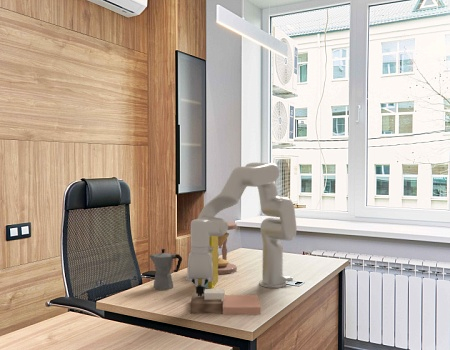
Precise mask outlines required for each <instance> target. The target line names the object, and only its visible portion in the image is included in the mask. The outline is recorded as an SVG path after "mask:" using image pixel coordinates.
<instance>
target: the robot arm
mask: <svg viewBox="0 0 450 350" xmlns="http://www.w3.org/2000/svg"><path fill="white" fill-rule="evenodd" d="M279 176H280V169H279V166H278V165H277V164H276V163H273V162H249V163H247V164H246V165H244V166H237V167H235V168H233V170H232V171H231V173H230V175H229V177H228V178H227V181H226V182H225V184H224V186H223V188H222V189H221V192H220V193H219V194H217V195H216V196H214V197H213V198H212V199H211V200H209V201H208V202H207V203H206V204H205V205H204V206H203V208H202V210H201V211H200V213H199V214H198V217H197V219H193V220H191V222H190V252H189V253H188V258H187V271H186V274H187V276H186V281H187V282H189V283H191V282H192V284H194V286H195V288H196V289H195V291H196V294H198V296H202V294H204V291H205V287H204V285H205V284H206V283H207V282H211V281H213V262H212V254H211V253H209V252H210V251H213V247H210V245H209V237H210V236H222V235H224V234H225V233H226V232H227V233H228V231H229V230H228V224H227V222H228V221H226V220H225V219H223V218H221V217H216V215H218V214H219V213H220V212H221V211H223V210H226V209H228V208H231V207H234V206H235V205H237V204H238V203H239V201H240V200H241V198H242V195H243V194H244V192H245V189H246V188H247V187H255V188H256V187H257V190H258V196H259V202H260V203H259V205H260V210H261V212H262V215H264V216H266V217H267V218H265V219H263V220H262V221H261V223H260V234H261V240H262V243H261V244H262V279H261V280H259V282H258V284H259V286H261V287H264V288H270V289H278V288H284V287H285V286H286V285H287V283H286V282H293V280H294V277H293V276H285V275H284V272H283V270H284V269H283V267H284V266H283V265H284V259H283V257H284V256H283V255H284V254H283V253H284V247H283V243H282V241H292V240H294V239H295V237H296V235H297V231H298V230H297V220H296V211H295V206H294V205H295V204H294V203H293V201H292V200H291V199H290V198H288V197H287V196H279V194H278V190H277V184H276V181H277V180H278V178H279ZM198 279H202V283H201V285H199V281H198Z"/></svg>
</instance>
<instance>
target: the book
mask: <svg viewBox="0 0 450 350" xmlns="http://www.w3.org/2000/svg"><path fill="white" fill-rule="evenodd" d="M209 245H210V247H213V251H210V252H209V253H211V254H212V262H213V281H211V282H207V283H206V284H205V285H204V288H207V289H215V288H214V287H215V286H216V285H217V283H218V282H219V274H218V259H219V258H218V254H219V246H218V236H210V237H209ZM198 281H199V285H201V283H202V279H198Z"/></svg>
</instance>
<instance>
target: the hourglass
mask: <svg viewBox="0 0 450 350" xmlns="http://www.w3.org/2000/svg"><path fill="white" fill-rule="evenodd" d="M226 222H227V224H228V230H227V232H226V233H225V234H224V235H222V236H218V249H221V256H222V257H220V254H219V253H218V275H228V274H232V273H233V274H234V273H235V272H236V271H237V268H238V267H237V265H236V264H234V263H229V260H228V258H227V255H228V248H227V242H228V237H229V235H230V233H229V232H228V231H229V230H230V231H231V230H235V229H237V228H238V224H237V223H236V222H232V221H226ZM232 268H233V269H232Z"/></svg>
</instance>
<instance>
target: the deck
mask: <svg viewBox="0 0 450 350" xmlns="http://www.w3.org/2000/svg"><path fill="white" fill-rule="evenodd" d="M204 292H205V290H204ZM189 307H190V310H189V312H190V315H192V314H193V315H195V314H196V315H197V314H198V315H200V314H201V315H203V314H204V315H205V314H206V315H211V314H213V315H216V314H217V315H221V314H223V299H215V300H204V294H202V296H198V294H196V290H195V291H192V294H191V300H190V305H189Z"/></svg>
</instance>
